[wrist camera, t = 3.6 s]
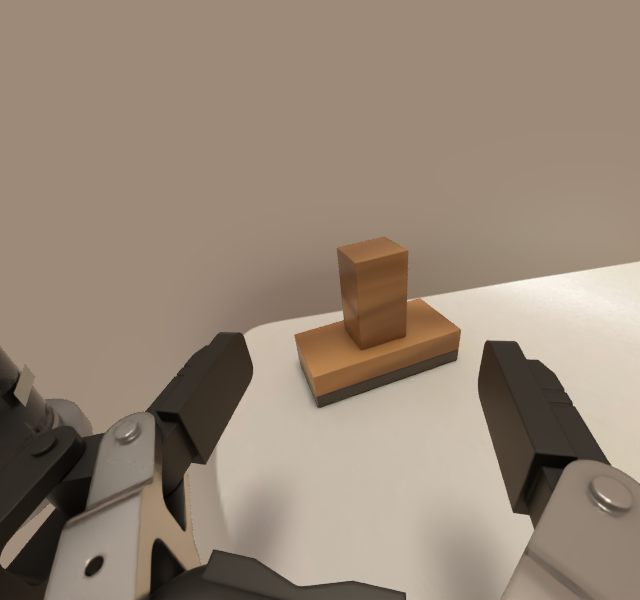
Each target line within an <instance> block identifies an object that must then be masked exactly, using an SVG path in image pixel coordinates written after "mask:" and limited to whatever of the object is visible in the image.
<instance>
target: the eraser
mask: <svg viewBox="0 0 640 600" xmlns="http://www.w3.org/2000/svg"><path fill="white" fill-rule="evenodd" d="M337 254H338V264H339V274H340V284H341V294H342V305H343V315H344V320H343V321H340V322H336V323H333V324H330V325H326V326H323V327H319V328H316V329H312V330H309V331H305V332H302V333H298V334H295V335H294V336H295V340H296V345H297V350H298V355H299V360H300V363H301V366H302V368H303V371H304V373H305V376H306V378H307V381H308V383H309V386H310V388H311V391H312V393H313V396H314V398H315V401H316V403H317V406H318V407H322V406H325V405H327V404H330V403H333V402H336V401H339V400H342V399H345V398H348V397H350V396H353V395H356V394H359V393H362V392H365V391H368V390H371V389H374V388H376V387H379V386H382V385H385V384H388V383H391V382H394V381H397V380H399V379H402V378H405V377H408V376H411V375H414V374H417V373H420V372H422V371H425V370H428V369H431V368H434V367H437V366H440V365H443V364H445V363H448V362H451V361H454V360H457V356H458V348H459V341H460V334H461V329H460V328H458V327H457V326H456V325H454V324H453V323H452V322H450V321H449V320H448V319H446V318H445V317H444V316H443V315H441V314H440V313H439V312H437V311H436V310H435V309H433V308H432V307H431V306H429V305H428V304H427V303H425V302H424V301H423V300H421V299H420V298H419V299H416V300H413V301H409V302H407V280H408V250H407V249H405V248H404V247H402V246H400V245H398V244H397V243H395V242H393V241H391V240H389V239H388V238H386V237H381V238H377V239H372V240H368V241H364V242H359V243H356V244H351V245H347V246H343V247H338V248H337Z"/></svg>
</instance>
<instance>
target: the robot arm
mask: <svg viewBox="0 0 640 600" xmlns="http://www.w3.org/2000/svg"><path fill="white" fill-rule="evenodd" d="M252 375H253V364H252V361H251V358H250V355H249V351H248V348H247V345H246V342H245V339H244V336H243V335H242V334H241V333H233V332H232V333H231V332H220V333H218V334H217V335H216V337H215V338H214V339H213V340H212V342H211V343H210V344H209V345H208V346H205V347H203V348H202V349H201V350H199V351H198V352H196V353H195V354H194V355H193V356H192V357H191V358H190V359H189V360H188V362H187V363H186V364H185V366H184V368H182V369H181V370H180V371H179V372H178V373H177V376H176V377H174V378H173V379H172V381H171V382H170V383H169V384H168V385H167V387H166V388H165V389H164V390H163V391H162V393H161V394H160V395H159V396H158V397H157V398H156V400H155V401H154V402H153V403H152V404H151V406H150V407H149V408H148V409H147V410H146V411H145V412H138V413H134V414H131V415H128V416H126V417H124V418H123V419H121V420H119V421H118V422H116V423H115V424H114V425H112V426H111V427H110V428H109V429H108V430H107V432H106V433H102V434H96V435H91V436H86V437H81V436H80V435H79V433H78V432H77V431H76V430H75V429H74V428H73V427H71V426H63V422H62V418H61V417H60V415H59V414H58V413H57V412H56V410H55V409H54V408H53V407H52V406H51V405H49V404H48V403H47V402H46V401H45V400H44V399H43V397H42V396H41V395H40V394H39V392H37V390H36V389H35V388H34V386H33V385H32V384H33V381H34V378H35V376H34V375H33V373H32V372H31V371H30V370H29V368H28V367H27V366H26V365H24V368H23V371H22V372H21V370H20V369H19V368H18V367H17V366H16V364H14V362H13V361H12V360H11V358H9V356H8V355H7V354H6V353H5V351H4V350H3V349H2V348H1V346H0V555H1V552H2V550H3V548H4V547H5V545H6V543H7V542H8V541H9V540H10V539H11V537H12V536H13V535H14V534H15V533H16V531H17V530H18V529H19V528H20V527H21V526H22V525H23V523H24V522H25V521H26V520H27V519H28V518H29V516H30V515H31V514H32V513H33V512H34V511H35V509H36V508H37V507H38V506H39V505H40V504H41V503H42V501H43V500H44V499H45V498H46V499H47V500H48V501H49V502H50V503H51V504H52V505H54V506H55V507H56V508H55V510H54V511H53V512H52V513H51V514H50V516H49V517H48V518H47V519H46V521H45V522H44V523H43V524H42V526H41V527H40V528H39V529H38V531H37V532H36V533H35V534H34V535H33V537H32V538H31V539H30V540H29V542H28V543H27V544H26V545H25V546H24V548H23V549H22V550H21V551H20V553H19V554H18V555H17V556H16V558H15V559H14V560H13V561H12V562H11V564H10V565H9V566H8V567H7V568H6V569H4V568H2V566H1V565H0V600H406V593H404V592H400V591H396V590H391V589H387V588H382V587H378V586H374V585H369V584H365V583H360V582H356V581H346V582H337V583H329V584H320V585H312V586H297V585H295V584H293V583H291V582H290V581H288V580H287V579H285V578H284V577H282V576H281V575H279V574H278V573H276V572H275V571H273V570H272V569H270V568H269V567H267V566H265V565H264V564H262V563H261V562H259V561H258V560H256V559H254V558H250V557H245V556H241V555H236V554H232V553H227V552H223V551H219V550H213V552H212V554H211V556H210V559H209V561H208V564H206V565H202V566H201V562H200V558H199V554H198V551H197V548H196V546H195V542H194V537H193V527H192V514H191V502H190V488H189V477H188V474H187V472H186V471H187V469H188V467H189V466H190V464H191V463H197V464H204V465H205V464H206V463H207V461H208V459H209V457H210V455H211V454H212V452H213V450H214V448H215V446H216V444H217V443H218V441H219V439H220V437H221V435H222V433H223V432H224V430H225V428H226V426H227V424H228V422H229V420H230V419H231V417H232V415H233V413H234V411H235V409H236V408H237V406H238V404H239V402H240V400H241V398H242V397H243V395H244V393H245V391H246V389H247V387H248V386H249V384H250V382H251V379H252ZM478 392H479V398H480V402H481V405H482V408H483V412H484V415H485V419H486V422H487V425H488V429H489V432H490V436H491V439H492V442H493V446H494V449H495V453H496V456H497V459H498V463H499V466H500V470H501V473H502V477H503V480H504V483H505V487H506V490H507V494H508V497H509V500H510V504H511V507H512V511H513V513H518V514H525V515H530V518H531V521H532V524H533V527H534V532H533V534H532V537H531V539H530V541H529V543H528V545H527V547H526V549H525V551H524V553H523V555H522V557H521V559H520V561H519V563H518V565H517V567H516V569H515V571H514V573H513V575H512V577H511V579H510V581H509V583H508V585H507V587H506V589H505V591H504V594H503V596H502V598H501V600H640V484H639V483H638V482H637V481H636V480H634V479H633V478H631V477H630V476H629V475H627V474H626V473H624V472H622V471H620V470H619V469H616V468H614V467H612V466H611V464H610V463H609V461H608V460H607V458H606V457H605V455H604V453H603V452H602V450H601V448H600V447H599V445H598V444H597V442H596V440H595V439H594V437H593V435H592V434H591V432H590V430H589V429H588V427H587V426H586V424H585V422H584V421H583V419H582V417H581V416H580V414H579V412H578V411H577V409H576V408H575V406H573V403H572V401H571V399H570V398H569V396H568V394H567V393H565V392H564V388H563V386H562V385H561V383H560V381H559V380H558V378H557V376H556V375H555V373H553V372H552V371H551V370H550V369H549V368H547V367H546V366H545V365H544V364H542V363H541V362H540V361H539V360H527V359H526V358H525V356H524V354H523V352H522V350H521V348H520V346H519V345H518V343H517V342H515V341H488V340H487V341H486V342H485V345H484V350H483V355H482V360H481V366H480V371H479V377H478Z"/></svg>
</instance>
